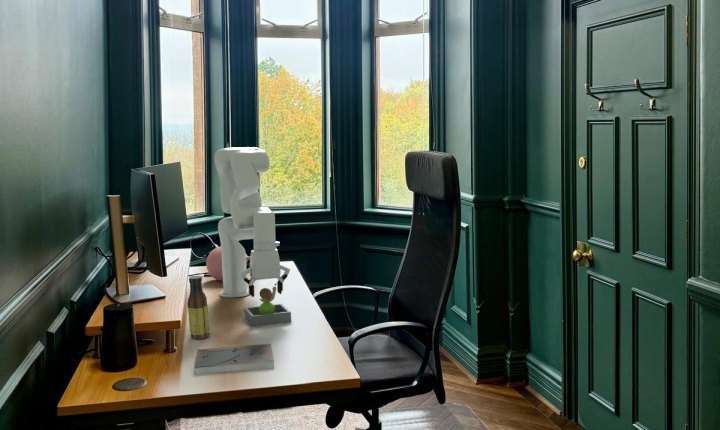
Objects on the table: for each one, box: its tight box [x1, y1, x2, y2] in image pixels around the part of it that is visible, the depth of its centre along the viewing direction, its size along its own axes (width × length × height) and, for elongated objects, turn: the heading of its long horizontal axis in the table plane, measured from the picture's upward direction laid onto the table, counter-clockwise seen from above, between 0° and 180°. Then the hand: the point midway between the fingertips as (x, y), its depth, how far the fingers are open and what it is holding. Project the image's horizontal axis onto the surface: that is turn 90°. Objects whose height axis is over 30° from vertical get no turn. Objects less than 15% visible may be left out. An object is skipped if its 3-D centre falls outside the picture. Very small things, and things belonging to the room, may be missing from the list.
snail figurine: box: [259, 282, 277, 315], centre depth 242 cm, size 5×6×12 cm
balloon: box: [205, 246, 251, 282], centre depth 307 cm, size 15×20×15 cm
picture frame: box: [194, 343, 275, 375], centre depth 199 cm, size 16×2×22 cm
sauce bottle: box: [187, 275, 211, 340], centre depth 222 cm, size 7×6×20 cm
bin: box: [243, 303, 292, 327], centre depth 242 cm, size 13×14×4 cm
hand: (266, 294), depth 242 cm, fingers open, 9 cm apart
